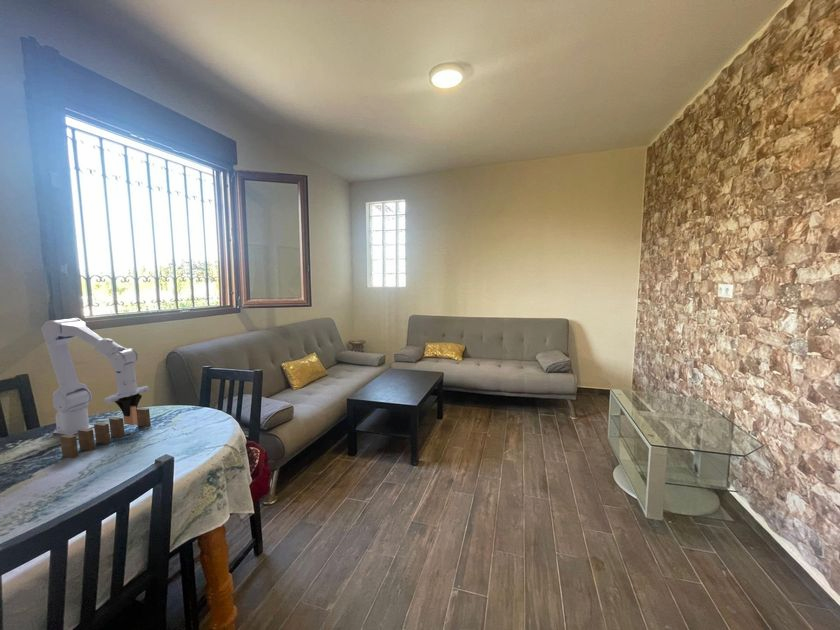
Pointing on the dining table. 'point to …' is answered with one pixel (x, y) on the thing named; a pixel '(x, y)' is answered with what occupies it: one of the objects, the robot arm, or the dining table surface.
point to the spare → (131, 416)
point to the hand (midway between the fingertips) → (130, 414)
